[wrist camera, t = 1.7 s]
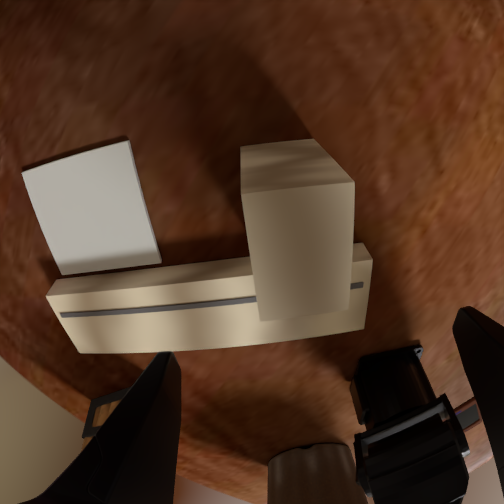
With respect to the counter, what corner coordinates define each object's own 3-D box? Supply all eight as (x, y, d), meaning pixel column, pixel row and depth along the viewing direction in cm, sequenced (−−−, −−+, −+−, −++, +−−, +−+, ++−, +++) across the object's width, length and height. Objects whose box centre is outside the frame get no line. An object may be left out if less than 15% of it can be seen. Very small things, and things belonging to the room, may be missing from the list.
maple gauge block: (313, 138, 17) (354, 181, 11) (317, 233, 20) (348, 309, 14) (240, 146, 17) (241, 194, 11) (253, 241, 20) (259, 321, 14)
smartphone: (477, 398, 34) (482, 421, 41) (475, 393, 35) (481, 418, 42) (436, 422, 37) (450, 441, 43) (435, 417, 37) (448, 437, 44)
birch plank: (362, 242, 20) (373, 260, 19) (356, 310, 23) (364, 329, 22) (56, 279, 21) (45, 297, 19) (87, 335, 24) (79, 354, 22)
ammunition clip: (155, 377, 27) (136, 498, 17) (169, 387, 28) (154, 504, 18) (91, 399, 30) (66, 493, 20) (103, 408, 31) (82, 500, 21)
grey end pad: (129, 140, 16) (127, 141, 16) (162, 260, 20) (161, 263, 20) (24, 171, 17) (21, 172, 16) (63, 272, 21) (62, 275, 21)
